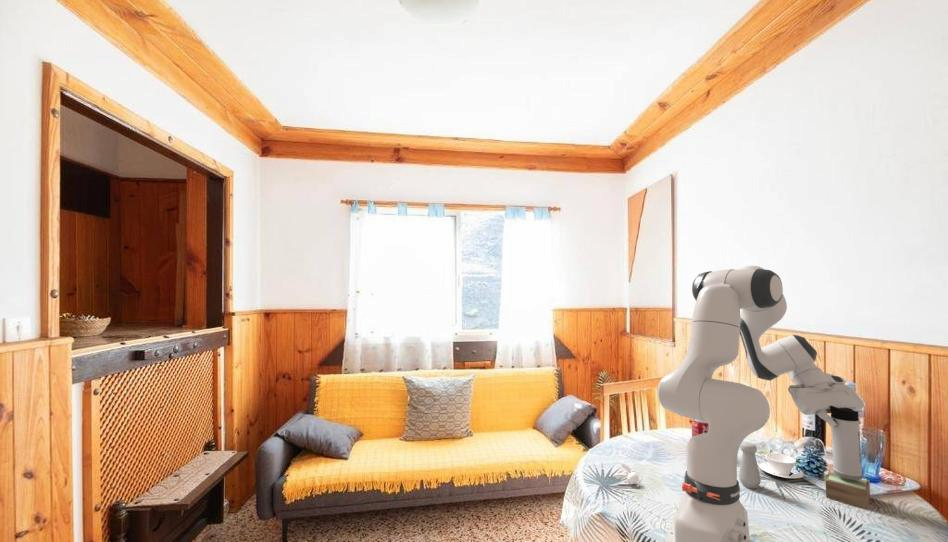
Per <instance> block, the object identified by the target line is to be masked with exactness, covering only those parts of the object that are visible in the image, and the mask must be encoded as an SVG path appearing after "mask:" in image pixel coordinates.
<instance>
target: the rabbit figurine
mask: <svg viewBox="0 0 948 542" xmlns="http://www.w3.org/2000/svg"><path fill="white" fill-rule="evenodd" d="M620 463H621V466H622V468H623V469H624V471H626V472H627V473H615V474H613V477H614V478H616V479H625V478H626V480H625V481H624V484H626V483H628V484H629V485H634V484H635V486H636V487H637V488H639V486H641V482H642V478H641V477H639V475H638V474H637V473H636V472H634V471H632V470H631V468H630V466H628V464H627V463H626V462H624V461H623V460H620Z"/></svg>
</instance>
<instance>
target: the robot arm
mask: <svg viewBox="0 0 948 542" xmlns="http://www.w3.org/2000/svg"><path fill="white" fill-rule="evenodd" d="M691 285H692V287H691V292H692V296H693V298H694V300H695V304H694V309H693V313H692V320H691V330H690V337H689V342H688V348H687V351H686V353H685V356H684V358H683V359H682V361H681V363H680V364H679V365H678V366H677V367H676V368H675V369H674V370H673V371H671V372H669V373H668V374H665V376H663V377H662V378H661V379H660V380H659V382H658V385H657V390H656V393H657V399H658V401H659V403H660V406H662V408H663V409H665V410H667V411H669V412H671V413H673V414H676V415H677V416H681V417H686V418H689V419H692V420H693V419H696V420H701V421H705V422H707V423H708V425H709V430H708V433H703V434H699V435H696V436H694V437H692V436H691V437H690V438H689V440H688V441H687V443H686V446H685V448H686V449H685V453H686V471H685V475H684V477H683V478H684V480H683V482H682V483H681V484H682V485H681V490H682V492H681V496H680V499H679V503H678V505H677V506H678V507H677V509H676V514H674V515H673V517H672V521H671V523H670V526H669V528H668V531H667V533H666V536H665V539H664V542H754V541H753V540H752V539H751V537H750V527H749V515H748V511H747V509H746V507H745V506H743V504H742V502H741V501H740V497H741V495H740V494H741V487H740V482H739V480H738V454H739V449H740V446H741V443H743V441H744V440H745V439H746V438H747V437H748V436H749V435H751V434H753V433H754V432H756V431H759V430H760V429H762V428H764V427H765V425H767V423H768V420H769V418H770V413H771V409H770V404H769V401H768V399H767V398H766V396H765V394H764V393H763V392H762V391H761V390H760V389H757V388H754V387H752V386H749V385H747V384H743V383H740V382H734V381H728V380H723V379H722V380H721V379H717V378H713V375H714V373H715V372H716V370H717V369H718V368H720V367H724V366H726V365H729V364H732V363H733V362H734V361H735V360H736V359H737V357H738V355H739V348H740V347H739V346H740V339H741V342H742V345H743V349H744V351H745V359H746V361H747V365H748V367H749V369H750V371H751V372H752V374H753V375H754V376H756V378H758V379H760V380H765V381H772V380H775V379H776V378H778V377H780V376H782V375H785V374H788V376H789V377H790V380H791V381H792V384H791V385H789V386H788V388H787V391H788V393H789V394H790V396H791V399H792V401H793V402H794V405H795V406H796V407H797V409H798V410H799V412H800V413H802V414H803V415H806V416H808V415H811V416H812V415H817V416H818V417H819V418H820V419H822V420H823V421H824V422H826V423H827V424H828V425H829V427H830V428H831V427H837V426H839V423H838V422H837V420H836V419H832V418H831V415H829V414H831V408H830V406H834V407H837V408H849V409H853V410H854V411H858V412H859V411H861V410H862V409H863V408H864V407H865V403H864V401H863V400H862V398H861V397H860V396H859V395H858V394H857V393H856V392H855V390H854V389H853V388H852V387H851V386H849V385H848V384H846V382H847V381H846V380H845V379H844V377H842V376H838V375H834V374H831V373H828V372H824V371H823V370H822V369H821V368H820V367H819V366H818V365H816V364H815V362H816V359H817V355H818V352H817V350H816V349H815V348H814V347H813V346H812V345H811V344H810V343H809V342H808V340H807V339H806V337H804V336H802V335H797V334H791V335H788V336H786V337H783V338H778V339H776V340H775V341H774V342H771V343H770V344H767V345H765V346H762V345H761V344H760V338H761V337H762V335H764V334H765V332H767V331H768V330H769V329H771V328H772V327H773V326H775V325H776V324H777V323H778V322H780V321H781V320H783V318H784V316H785V314H786V312H787V308H788V304H787V301H786V298H785V297H786V296H785V295H784V293H783V291H784V289H783V282H782V279H781V277H780V276H779V275H778V274H777V272H774V271H773V270H769V269H766V268H763V267H761V266H757V265H746V266H744V267H742V268H739V269H734V268H729V269H721V270H715V271H711V270H710V271H705V272H701V273H700V274H698V275H696V277H695V278H694V280H693V282H692V284H691ZM861 424H862V422H861V420H860V419H859V426H860V425H861Z"/></svg>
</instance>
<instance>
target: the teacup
mask: <svg viewBox="0 0 948 542" xmlns="http://www.w3.org/2000/svg"><path fill="white" fill-rule="evenodd" d="M760 457H761V460H762V462H761V463H759V464H758V468H759V469H760V470H762V471H764V472H765V473H767V474H770V475H773V476H777V477H781V478H785V479H802V478H803V477H805V475H804V474H805V473H804V472H803V471H802V470H800V472H799V473H798V474H792V475H791V476H789V474H790V472H791V470H792V469H793V467H794V466H795V465H796V462H797V461H796V459H795V458H793V457H792V456H789V455H786V454H783V453H776V452H770V453H766V454H763V453H761V454H760ZM764 458H766V460H767V461H765V459H764ZM794 468H795V467H794ZM774 473H775V474H774Z"/></svg>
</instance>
